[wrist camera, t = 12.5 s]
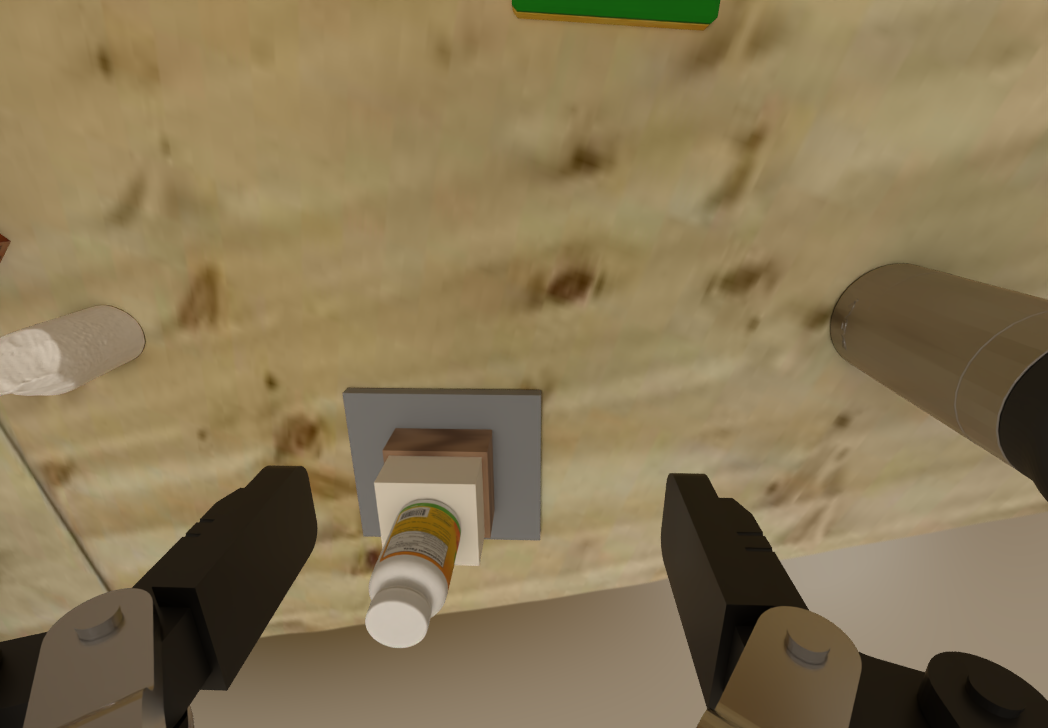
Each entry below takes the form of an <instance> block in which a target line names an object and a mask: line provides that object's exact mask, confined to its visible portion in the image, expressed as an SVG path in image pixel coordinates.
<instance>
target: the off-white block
mask: <svg viewBox="0 0 1048 728" xmlns="http://www.w3.org/2000/svg"><path fill="white" fill-rule="evenodd" d="M374 486H375V494H376V502H377V509H378V517H379V524H380V532H381V539H382V547H384V545H385V542H386V540H387V537H388V535H389V533H390V530H391V528H392V526H393V523H394V521H395V519H396V517H397V515H398V513H399V512H400V510H401V509H402V508H403V507H404V506H406V505H407V504H409V503H411V502H414V501H417V500H434V501H438V502H440V503H443V504H445V505H446V506H448V507H449V508H450V509H452V510H453V511H454V512H455V514H456V515H457V517H458V519H459V521H460V524H461V537H460V542H459V546H458V551H457V555H456V559H455V564H454V565H470V566H479V565H480V559H481V553H482V547H483V541H484V535H485V527H484V503H483V479H482V457H439V456H388V458H387V460H386V462H385V463H384V465H383V467H382V469H381V471H380V473H379V474H378V476H377V478H376V480H375V482H374Z"/></svg>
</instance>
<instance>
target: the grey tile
mask: <svg viewBox="0 0 1048 728" xmlns="http://www.w3.org/2000/svg"><path fill="white" fill-rule="evenodd" d="M343 400H344V407H345V413H346V420H347V427H348V434H349V440H350V447H351V454H352V461H353V468H354V474H355V481H356V488H357V495H358V501H359V508H360V515H361V522H362V528H363V535H364V536H375V537H381V532H380V524H379V517H378V509H377V502H376V494H375V486H374V482H375V480H376V478H377V476H378V474H379V473H380V471H381V469H382V467H383V465H384V460H383V451H382V450H383V449H384V447H385V445H386V443H387V442H388V440H389V438H390V437H391V435H392V433H393V431H394V430H395V428H420V429H488V430H492V445H493V476H494V507H495V511H494V518H493V525H492V531H491V538H484V539H504V540H540V489H541V390H493V389H404V388H347V389H346V390H345V391H344V392H343Z"/></svg>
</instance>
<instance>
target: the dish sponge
mask: <svg viewBox="0 0 1048 728" xmlns="http://www.w3.org/2000/svg"><path fill="white" fill-rule="evenodd" d="M719 5H720V0H512V7H513V12H514V13H515V15H516V16H517V17H518V18H523V19H538V20H553V21H568V22H583V23H598V24H613V25H628V26H643V27H658V28H673V29H688V30H704V29H705V28H706V27H708V26H709V25H710V24H711V23H712V22H713V21H714V20H715V19H716V18H717V17H718V11H719Z"/></svg>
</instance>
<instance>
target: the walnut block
mask: <svg viewBox="0 0 1048 728" xmlns="http://www.w3.org/2000/svg"><path fill="white" fill-rule="evenodd" d="M382 451H383V460H384V463H385V462H386V460H387V458H388V456H439V457H482V479H483V503H484V527H485V535H484V538H491V531H492V525H493V518H494V511H495V507H494V476H493V445H492V430H488V429H420V428H395V430H394V431H393V433H392V435H391V437H390V438H389V440H388V442H387V443H386V445H385V447H384V449H383V450H382Z"/></svg>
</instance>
